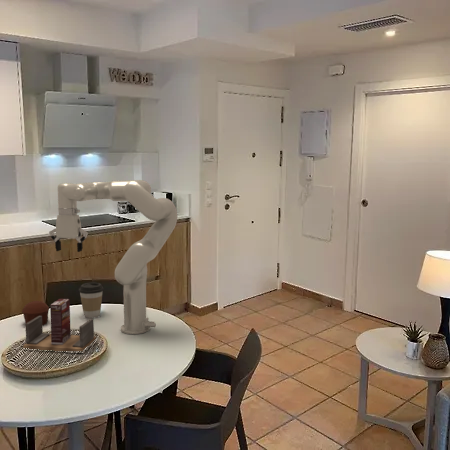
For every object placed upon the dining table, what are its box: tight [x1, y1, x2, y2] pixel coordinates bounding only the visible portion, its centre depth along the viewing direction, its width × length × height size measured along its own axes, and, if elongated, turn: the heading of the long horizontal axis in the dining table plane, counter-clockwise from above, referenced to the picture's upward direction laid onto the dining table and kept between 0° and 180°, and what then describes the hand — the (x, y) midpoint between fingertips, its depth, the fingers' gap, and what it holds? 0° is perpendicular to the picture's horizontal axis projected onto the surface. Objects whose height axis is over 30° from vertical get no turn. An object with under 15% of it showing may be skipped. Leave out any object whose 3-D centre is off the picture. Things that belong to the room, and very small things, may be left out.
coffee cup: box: [78, 282, 105, 319], centre depth 221 cm, size 11×11×15 cm
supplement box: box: [49, 298, 72, 345], centre depth 186 cm, size 9×5×16 cm, turn 177°
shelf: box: [23, 316, 98, 351], centre depth 186 cm, size 24×13×10 cm, turn 82°
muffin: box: [21, 300, 50, 327], centre depth 211 cm, size 12×11×10 cm
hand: (69, 251), depth 206 cm, fingers open, 9 cm apart
